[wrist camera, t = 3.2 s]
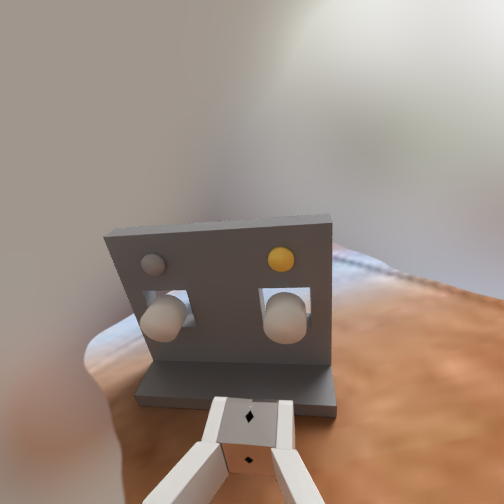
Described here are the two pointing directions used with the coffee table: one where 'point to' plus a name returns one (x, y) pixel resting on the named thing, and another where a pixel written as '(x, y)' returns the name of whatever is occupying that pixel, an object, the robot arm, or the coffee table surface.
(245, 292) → the control panel
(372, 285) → the coffee table surface
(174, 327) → the unlit button
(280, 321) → the beige rounded lump
